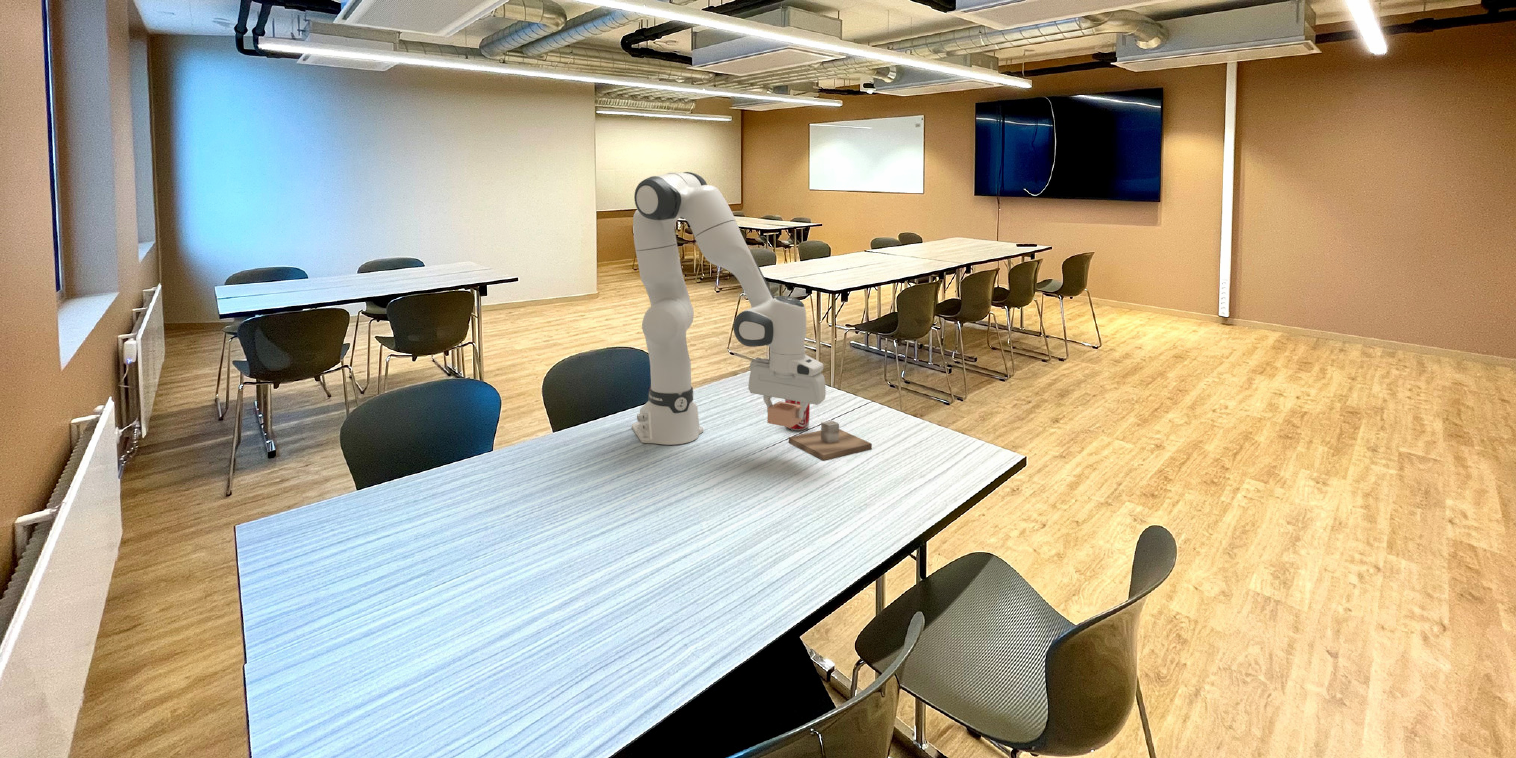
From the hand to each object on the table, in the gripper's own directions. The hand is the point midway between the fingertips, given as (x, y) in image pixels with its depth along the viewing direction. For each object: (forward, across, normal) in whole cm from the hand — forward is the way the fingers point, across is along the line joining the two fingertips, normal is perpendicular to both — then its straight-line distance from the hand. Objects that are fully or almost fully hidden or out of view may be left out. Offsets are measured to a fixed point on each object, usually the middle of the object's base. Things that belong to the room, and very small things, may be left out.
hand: (785, 415), depth 191 cm
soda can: (+12, -8, +25) cm, 29 cm away
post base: (+12, +6, +15) cm, 20 cm away
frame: (+2, 0, 0) cm, 2 cm away
